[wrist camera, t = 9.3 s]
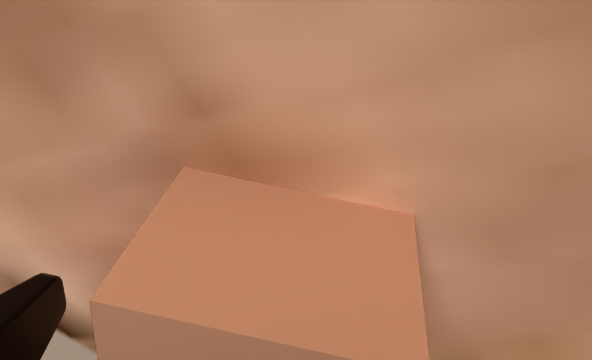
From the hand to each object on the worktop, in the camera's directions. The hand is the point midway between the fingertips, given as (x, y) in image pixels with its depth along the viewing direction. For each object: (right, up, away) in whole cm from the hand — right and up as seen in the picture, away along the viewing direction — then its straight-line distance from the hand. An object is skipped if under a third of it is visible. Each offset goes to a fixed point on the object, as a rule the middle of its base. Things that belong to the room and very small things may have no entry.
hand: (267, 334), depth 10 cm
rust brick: (0, +1, +2) cm, 2 cm away
